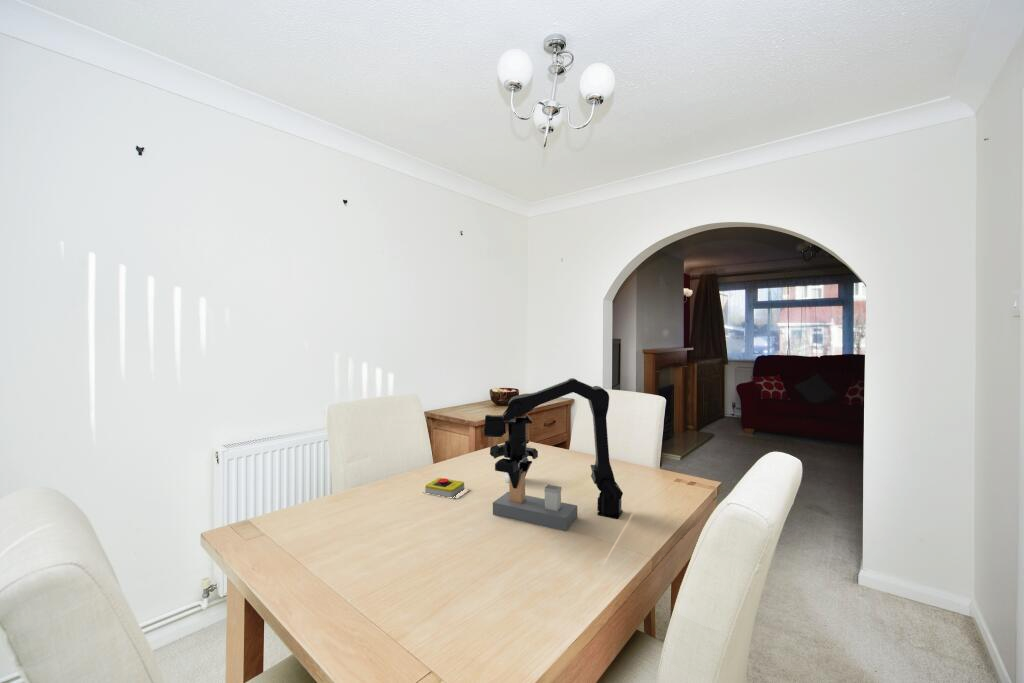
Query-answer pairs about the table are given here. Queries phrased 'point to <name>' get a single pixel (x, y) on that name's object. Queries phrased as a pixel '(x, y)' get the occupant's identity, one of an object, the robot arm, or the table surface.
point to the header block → (536, 512)
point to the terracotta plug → (518, 490)
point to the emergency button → (444, 487)
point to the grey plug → (553, 497)
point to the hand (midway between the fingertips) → (517, 486)
